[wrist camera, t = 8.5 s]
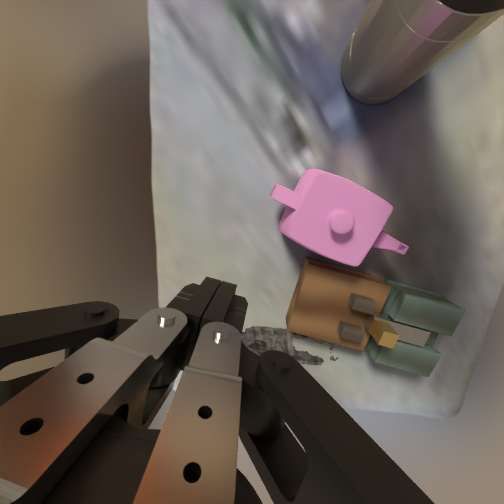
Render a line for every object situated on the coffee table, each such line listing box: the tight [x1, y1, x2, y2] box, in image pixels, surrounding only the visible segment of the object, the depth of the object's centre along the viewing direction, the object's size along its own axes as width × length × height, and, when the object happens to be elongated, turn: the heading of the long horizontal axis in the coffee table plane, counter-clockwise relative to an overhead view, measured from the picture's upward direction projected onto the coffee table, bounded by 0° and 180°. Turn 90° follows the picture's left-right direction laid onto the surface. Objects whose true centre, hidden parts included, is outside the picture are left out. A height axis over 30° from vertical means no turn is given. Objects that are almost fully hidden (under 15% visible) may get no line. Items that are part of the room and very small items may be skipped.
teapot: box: [270, 169, 409, 267], centre depth 32 cm, size 18×10×10 cm, turn 66°
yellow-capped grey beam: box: [364, 313, 431, 348], centre depth 33 cm, size 2×8×5 cm, turn 75°
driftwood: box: [241, 327, 340, 365], centre depth 42 cm, size 21×7×2 cm, turn 86°
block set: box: [286, 257, 465, 377], centre depth 37 cm, size 11×21×6 cm, turn 75°
